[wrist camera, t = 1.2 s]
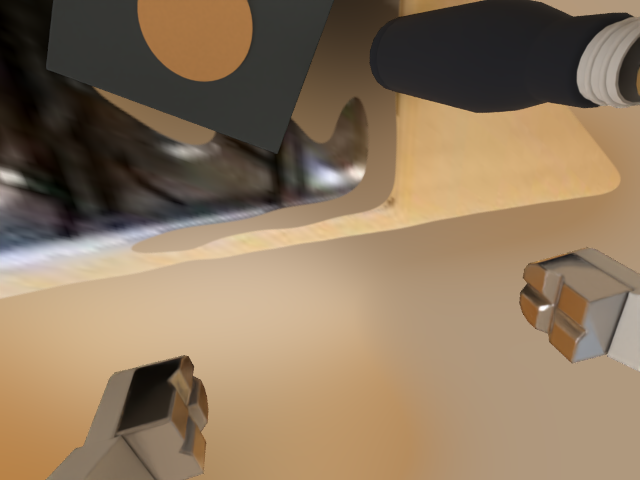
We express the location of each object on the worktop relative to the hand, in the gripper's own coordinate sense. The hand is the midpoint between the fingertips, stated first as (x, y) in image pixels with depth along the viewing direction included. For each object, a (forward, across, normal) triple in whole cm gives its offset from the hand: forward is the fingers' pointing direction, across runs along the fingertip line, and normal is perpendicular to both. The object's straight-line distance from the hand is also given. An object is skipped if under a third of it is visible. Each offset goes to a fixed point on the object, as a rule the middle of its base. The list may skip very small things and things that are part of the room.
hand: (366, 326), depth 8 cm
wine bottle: (+31, -14, -3) cm, 34 cm away
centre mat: (+30, +4, -8) cm, 32 cm away
